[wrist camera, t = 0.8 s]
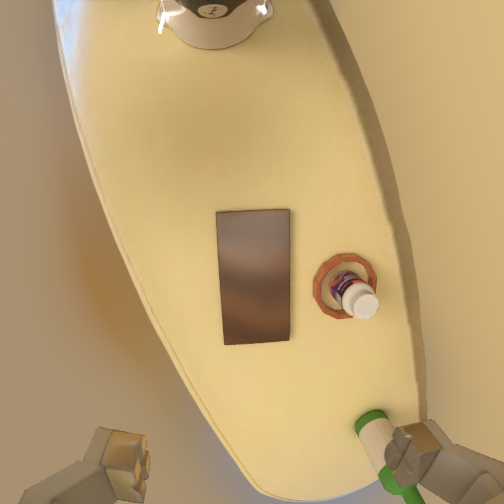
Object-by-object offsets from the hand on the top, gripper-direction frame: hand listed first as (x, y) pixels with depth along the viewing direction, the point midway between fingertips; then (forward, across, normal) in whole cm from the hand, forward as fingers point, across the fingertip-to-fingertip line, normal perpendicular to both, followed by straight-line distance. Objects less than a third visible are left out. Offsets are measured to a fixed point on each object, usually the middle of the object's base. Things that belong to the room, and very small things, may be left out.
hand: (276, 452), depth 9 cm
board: (+42, -4, +7) cm, 42 cm away
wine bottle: (+42, -33, +40) cm, 67 cm away
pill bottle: (+42, -19, +7) cm, 47 cm away
